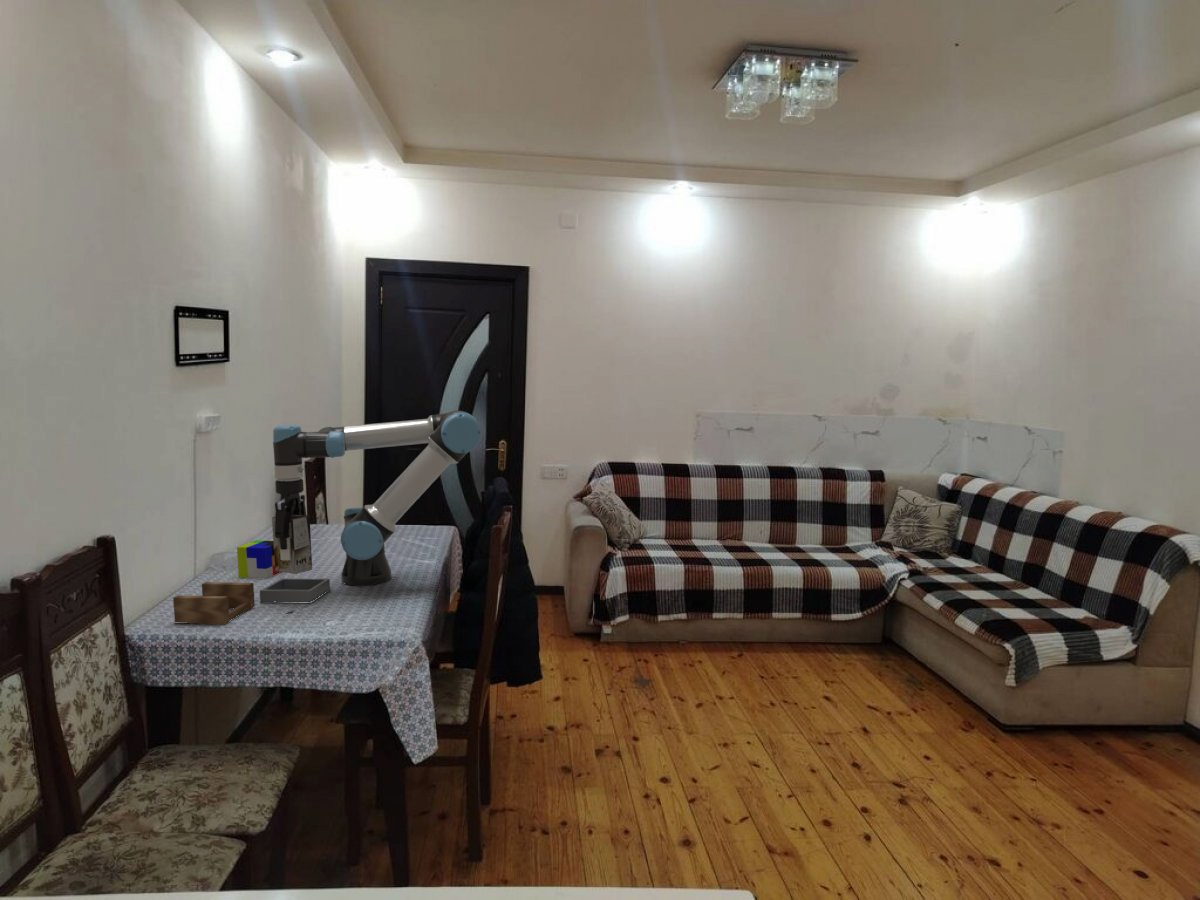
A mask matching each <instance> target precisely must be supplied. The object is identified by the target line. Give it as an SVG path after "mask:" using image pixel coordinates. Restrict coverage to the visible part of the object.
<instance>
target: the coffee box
mask: <svg viewBox="0 0 1200 900" xmlns="http://www.w3.org/2000/svg"><path fill="white" fill-rule="evenodd" d="M275 517H276V516H272V517H271V524H272V527H271V528H272V538H273V540H272V541H273V543H274V558H275V571H279V572H281V573H286V574H287V573H288V574H294V575H298V574H302V573H304V572H310V571H313V558H312V557H313V556H312V555H313V554H312V539H311V516H310V515H307V514H306V515H291V518H290V519H289V534H288V537H290V549H291V560H281V556H280V538H276V537H275Z"/></svg>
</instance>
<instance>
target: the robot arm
mask: <svg viewBox="0 0 1200 900" xmlns="http://www.w3.org/2000/svg"><path fill="white" fill-rule="evenodd" d="M301 428H302V427H301V426H300V425H297V424H295V425H294V424H293V425H292V424H287V425H285V424H284V425H276V426H275V427H274V428H273V437H272V438H273V439H272V440H273V441H272V447H273V459H274V460H273V461H274V479H276V480H275V483H274V484H275V493H276V494H279V495H280V499H279V501H276V502H275V503H274V507H275V516H274V517H275V537H276V538H280V556H281V560H291V549H290V537H288V534H289V519H290V518H291V515H307V509H306V503H305V500H306V495H305V494H300V493H302V492H304V479H302V478H303V476H304V473H303V471H304V467H303V459H309V458H310V459H312V458H317V459H318V458H332V459H334V458H339V457H341V458H342V457H344V456H345V454H346V451H347V452H348V451H356V450H367V449H368V450H369V449H377V448H378V449H380V448H390V447H400V446H411V445H421V444H428V445H427V446H426V447H425V448H424V449H423V450H422V451H421V452H420V453H419V454H418V456H417V457H415V459H413V461H412V462H411V463H410V464H409V465H408V467H406V469H405V470H404V471H403V472H402V473H401V474H400V475H399V476H398V477H397V478H396V479H395V480H394V481H393V483H392V484H390V486H389V487H388V488H386V490H385V491H384V492H383V493H382V495H380V496H379V498H378V499H377V500H376V501H375V502H374V503H372V504H365V505H364V506H363V507H350V508H347V509H345V510H344V512H343V513H344V515H343V519H344V528H343V530H342V532H341V534H340V543H341V548H342V549H343V551H344V553H345V560H344V564H343V568H342V570H341V575H340V576H341V577H340V578H341V583H342V582H343V583H342V584H344V583H345V584H344V585H347V584H349V585H348V586H354V585H364V586H372V585H377V584H383V583H386V582H387V581H390V580H391V579H392V569H391V567H390V564H389V561H388V559H387V556H386V552H385V551H386V550H385V543H386V542H388V539H390V538H391V536H392V535H393V534H394V533H395V532H396V523H397V522H398V521H399V520H401V518H402V517H403V516H404V514H405V513H407V511H408V510H409V509H410V508H411V507H412V506H413V505H414V504H415V502H417V500H419V499H420V497H421V496H422V495H423V494H424V493H425V492H426V491H427V489H429V488H430V487H431V485H432V484H433V483H434V482H435V481H436V480H437V479H438V478H439V477H440V475H442V473H444V471H446V469H447V468H448V467H449V466H450V465H453V464H454V465H455V464H459V462H460V461H461V460H463V458H464V457H466V455H467V454H468V453H470V452H472V451H473V450H474V449H475V448H476V447H477V446H478V445H479V443H480V441H481V438H482V428H481V424H480V422H479V420H478V419H477V418H476V417H475V416H473V414H470V413H469V412H467V411H464V410H451V411H448V412H444V413H440V414H432V415H429V416H428V417H427V418H422V419H420V418H419V419H412V420H411V419H410V420H401V421H390V422H378V423H366V424H358V425H357V424H356V425H346V426H345V425H344V426H335V427H332V426H326V427H323V428H320V429H319V430H318V431H309V432H307V431H302V429H301Z"/></svg>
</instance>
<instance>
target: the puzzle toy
mask: <svg viewBox="0 0 1200 900" xmlns="http://www.w3.org/2000/svg"><path fill="white" fill-rule="evenodd" d="M236 551H237V552H236V554H237V556H236V557H237V568H238V569H237V571H238V579H240V578H241V579H257V578H264V579H263V580H266V579H265V578H268V579H270V578H272V577H274V576H273V575H275V574H277V573H279V571H275V558H274V543H273V540H259V539H258V540H257V539H256V540H253V541H250V542H248V543H245V544H242V545H239V546H237V547H236ZM279 574H280V573H279ZM277 575H278V574H277ZM271 576H272V577H271ZM275 576H276V575H275ZM269 577H270V578H269Z"/></svg>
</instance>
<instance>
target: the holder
mask: <svg viewBox="0 0 1200 900" xmlns="http://www.w3.org/2000/svg"><path fill="white" fill-rule="evenodd" d="M201 591H202V595H176V596H174V597H173V599H172V602H173V612H174V615H173V616H174V623H175V622H187V623H202V624H201V625H227V624H229V623H230V622H231V621H232V620H231V619H233V618H234V619H236V618H237V617H236V616H238V615H239V616H241V615H242V614H241V613H243V612H245V611H246V612H248V611H249V610H248V609H250V610H252V609H254V608H255V607H256V604H255V589H254V582H232V581H231V582H225V581H223V582H219V581H218V582H217V581H215V582H214V581H205V582H203V583H201ZM254 606H255V607H254ZM253 607H254V608H253ZM229 608H234V609H229ZM251 608H252V609H251ZM247 610H248V611H247ZM246 612H245V613H246ZM240 614H241V615H240ZM243 614H244V613H243ZM239 616H238V617H239ZM235 617H236V618H235ZM234 619H233V620H234ZM230 620H231V621H230ZM229 621H230V622H229ZM228 622H229V623H228ZM226 623H227V624H226Z"/></svg>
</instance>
